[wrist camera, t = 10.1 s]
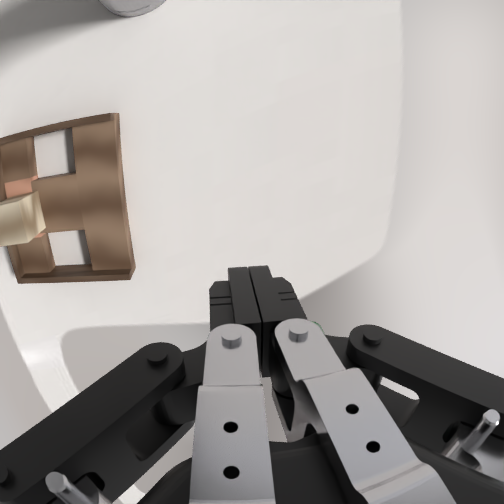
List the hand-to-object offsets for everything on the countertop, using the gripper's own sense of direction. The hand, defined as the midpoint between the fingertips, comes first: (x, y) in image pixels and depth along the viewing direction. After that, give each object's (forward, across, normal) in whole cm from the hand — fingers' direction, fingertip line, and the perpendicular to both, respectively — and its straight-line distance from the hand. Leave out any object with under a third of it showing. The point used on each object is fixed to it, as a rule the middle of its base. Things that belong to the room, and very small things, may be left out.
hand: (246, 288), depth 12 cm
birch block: (+25, +26, +2) cm, 36 cm away
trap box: (+27, +21, +2) cm, 34 cm away
